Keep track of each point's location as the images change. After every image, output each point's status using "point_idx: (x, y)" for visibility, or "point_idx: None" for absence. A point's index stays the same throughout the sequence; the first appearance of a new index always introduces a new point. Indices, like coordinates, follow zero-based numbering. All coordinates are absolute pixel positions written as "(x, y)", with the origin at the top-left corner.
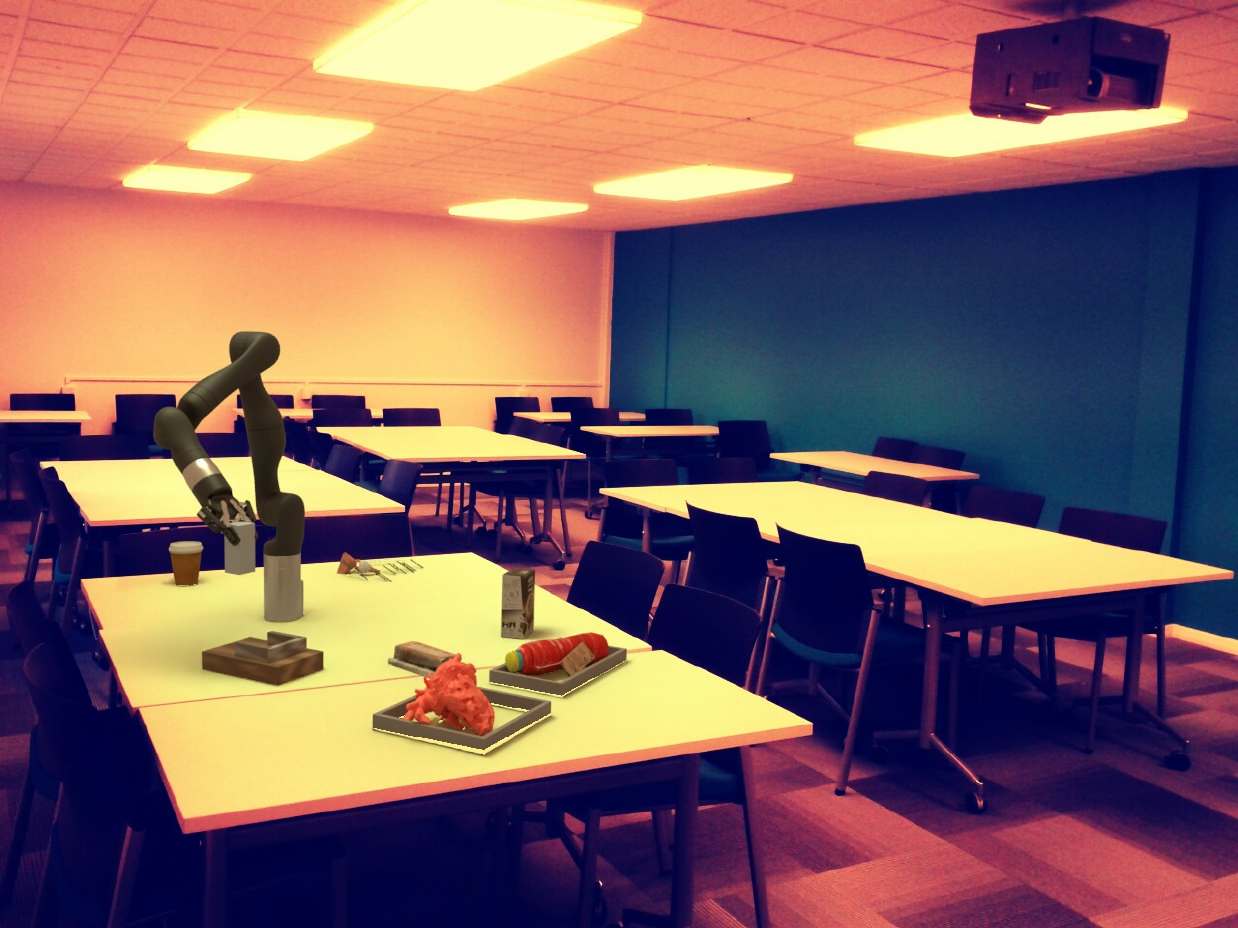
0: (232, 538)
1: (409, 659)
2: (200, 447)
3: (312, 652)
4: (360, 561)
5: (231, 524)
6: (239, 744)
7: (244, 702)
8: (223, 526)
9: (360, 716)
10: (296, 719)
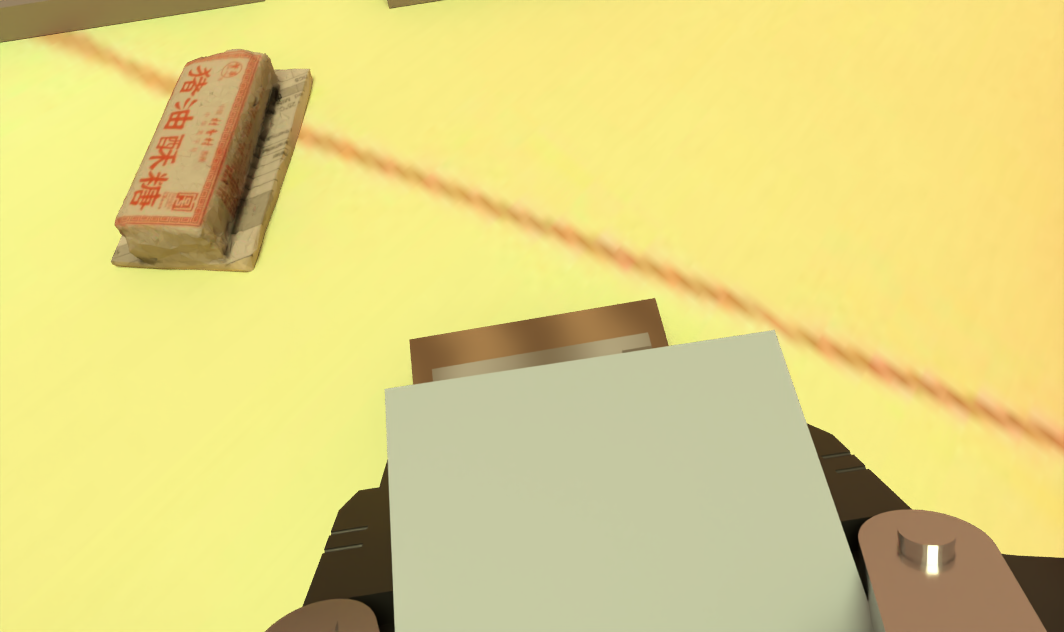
0: (832, 444)
1: (239, 187)
2: None
3: (445, 356)
4: None
5: (828, 574)
6: (960, 57)
7: (814, 274)
8: (1030, 576)
9: (637, 25)
10: (767, 93)
